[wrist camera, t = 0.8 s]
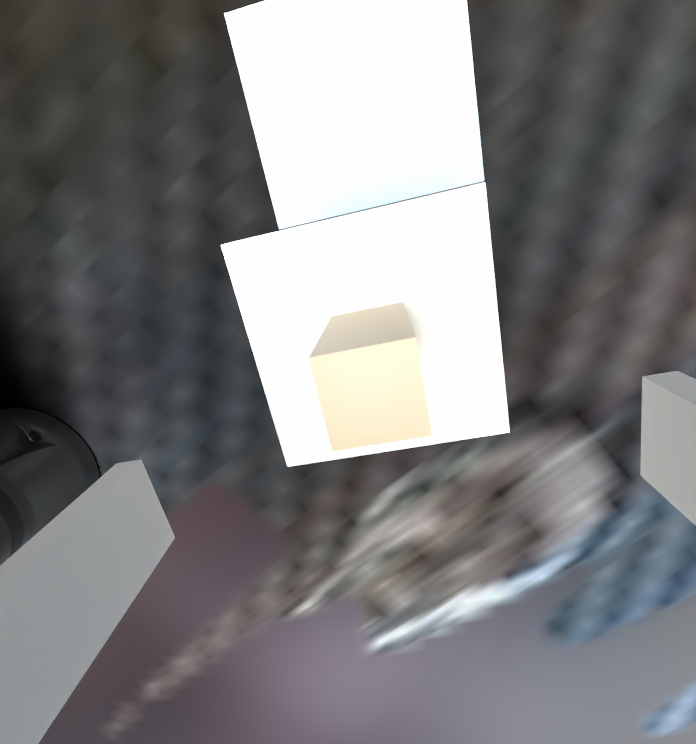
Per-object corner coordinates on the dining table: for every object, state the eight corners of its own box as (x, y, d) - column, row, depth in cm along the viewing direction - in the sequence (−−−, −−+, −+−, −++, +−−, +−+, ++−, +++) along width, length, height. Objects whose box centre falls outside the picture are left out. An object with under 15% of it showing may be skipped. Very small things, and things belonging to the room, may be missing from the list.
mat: (280, 229, 36) (279, 229, 35) (226, 17, 31) (224, 13, 30) (482, 181, 34) (484, 180, 33) (459, -56, 29) (460, -62, 28)
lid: (289, 460, 26) (250, 563, 18) (225, 244, 22) (135, 249, 14) (505, 426, 25) (572, 523, 16) (481, 184, 20) (554, 147, 12)
